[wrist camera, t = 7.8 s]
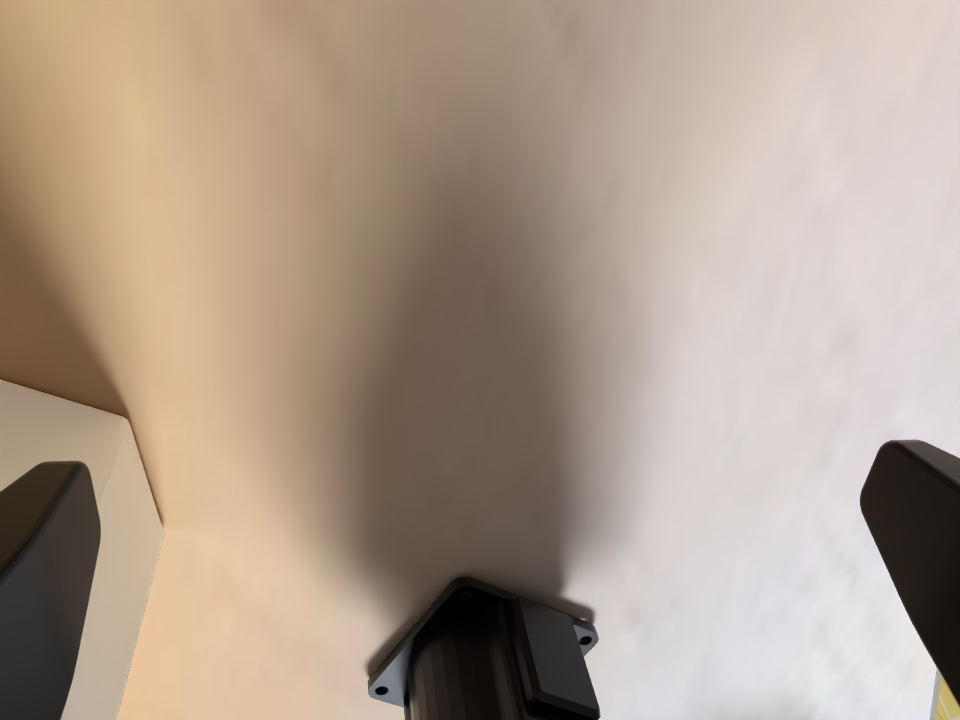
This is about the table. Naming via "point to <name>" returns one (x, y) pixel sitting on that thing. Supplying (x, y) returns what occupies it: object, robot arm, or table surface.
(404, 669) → the robot arm
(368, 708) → the table surface
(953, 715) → the pasta box
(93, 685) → the jar
